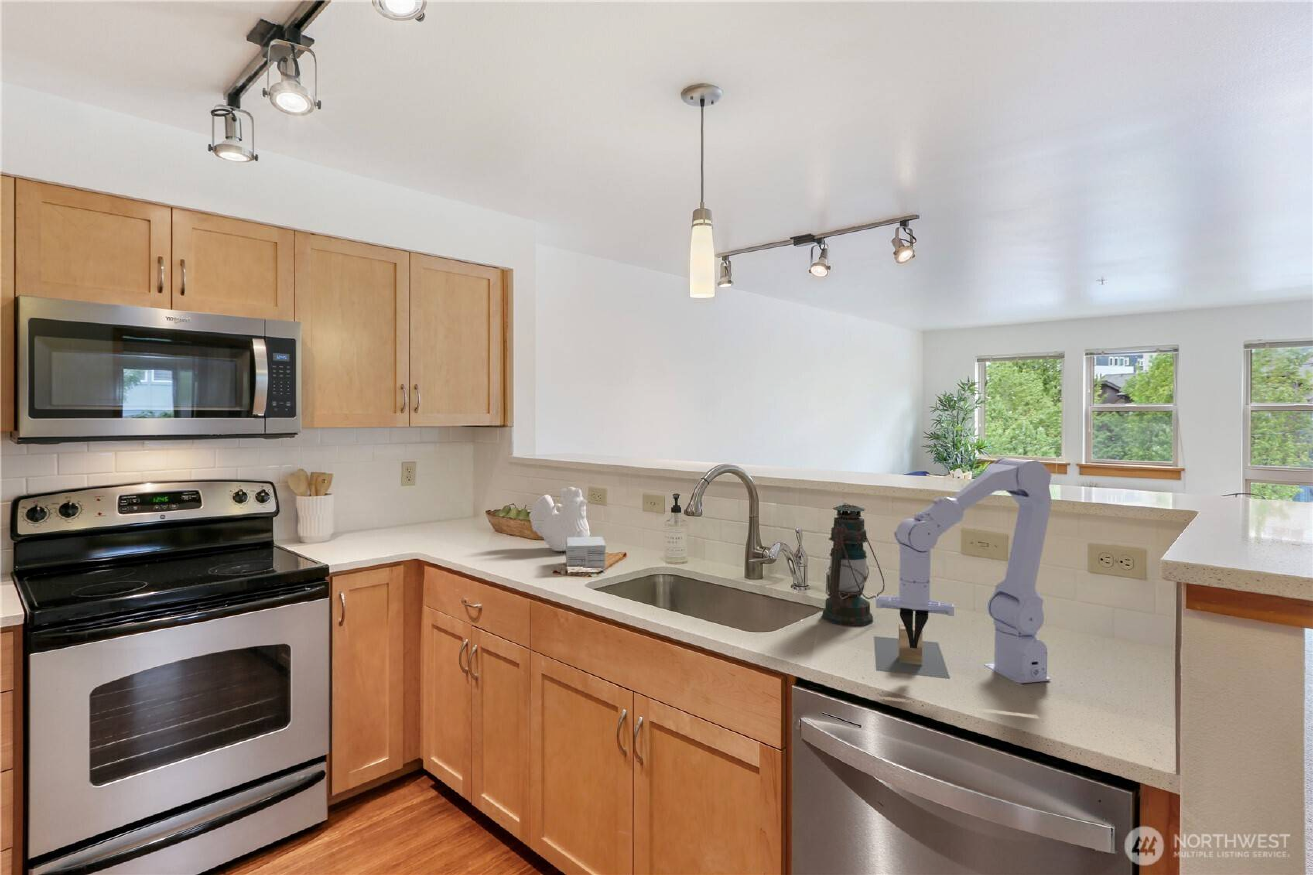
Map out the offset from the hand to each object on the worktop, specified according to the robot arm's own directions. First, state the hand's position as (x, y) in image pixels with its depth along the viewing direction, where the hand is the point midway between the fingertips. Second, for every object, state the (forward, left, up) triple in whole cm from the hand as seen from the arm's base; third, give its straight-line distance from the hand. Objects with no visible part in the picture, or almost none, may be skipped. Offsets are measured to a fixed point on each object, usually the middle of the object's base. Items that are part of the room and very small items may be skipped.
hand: (913, 646), depth 133 cm
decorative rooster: (+142, +59, -7) cm, 154 cm away
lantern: (+38, -7, -7) cm, 39 cm away
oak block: (+7, -4, -6) cm, 10 cm away
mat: (+10, -6, -6) cm, 13 cm away
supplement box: (+110, +53, -7) cm, 122 cm away
